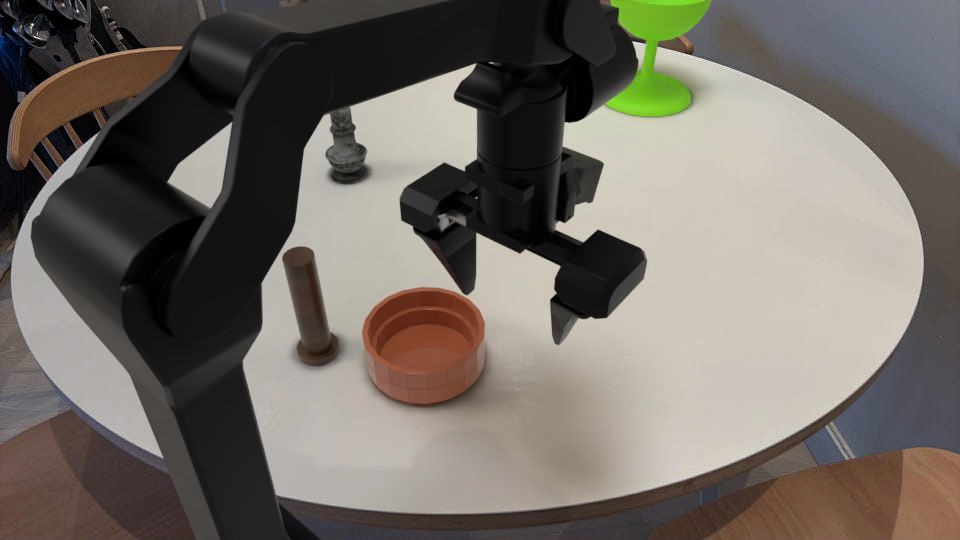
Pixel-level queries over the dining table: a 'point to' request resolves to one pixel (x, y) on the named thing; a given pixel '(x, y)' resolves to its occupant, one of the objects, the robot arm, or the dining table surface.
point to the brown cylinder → (309, 307)
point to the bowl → (424, 344)
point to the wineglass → (655, 17)
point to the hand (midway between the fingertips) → (512, 315)
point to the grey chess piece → (345, 150)
